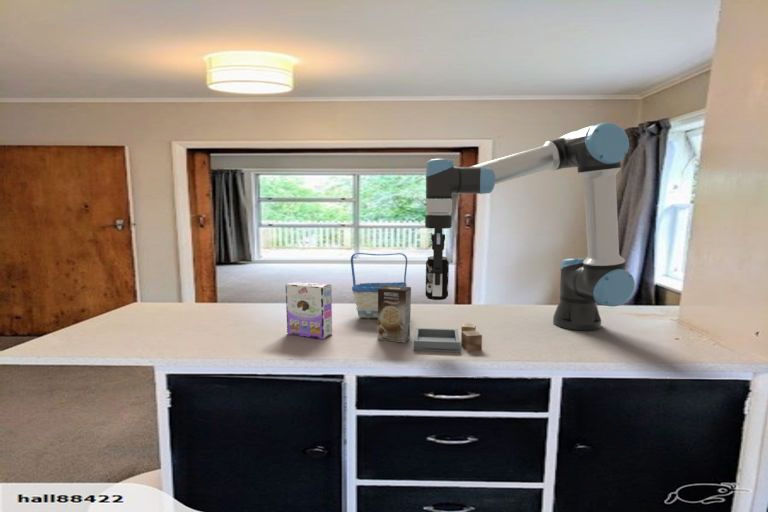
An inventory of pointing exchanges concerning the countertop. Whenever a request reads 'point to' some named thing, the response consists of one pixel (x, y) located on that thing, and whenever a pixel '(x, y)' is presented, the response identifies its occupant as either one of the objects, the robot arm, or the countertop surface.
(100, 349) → the countertop surface
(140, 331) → the countertop surface
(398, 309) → the coffee box
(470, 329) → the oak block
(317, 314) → the candy box
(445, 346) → the tray
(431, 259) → the beverage can
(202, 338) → the countertop surface
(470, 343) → the walnut block
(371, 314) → the basket
